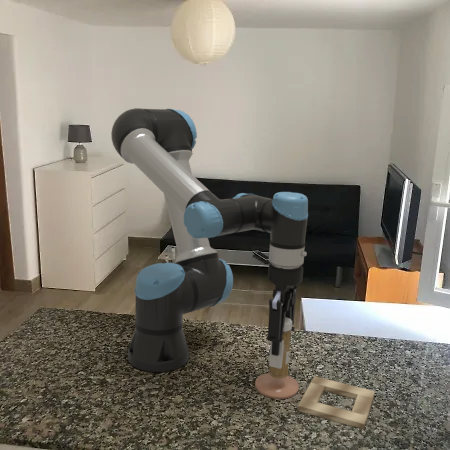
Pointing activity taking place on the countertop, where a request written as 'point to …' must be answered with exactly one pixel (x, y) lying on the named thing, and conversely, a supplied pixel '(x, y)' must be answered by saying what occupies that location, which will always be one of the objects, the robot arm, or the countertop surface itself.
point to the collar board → (332, 413)
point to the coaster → (276, 386)
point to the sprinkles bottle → (286, 349)
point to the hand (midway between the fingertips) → (278, 361)
